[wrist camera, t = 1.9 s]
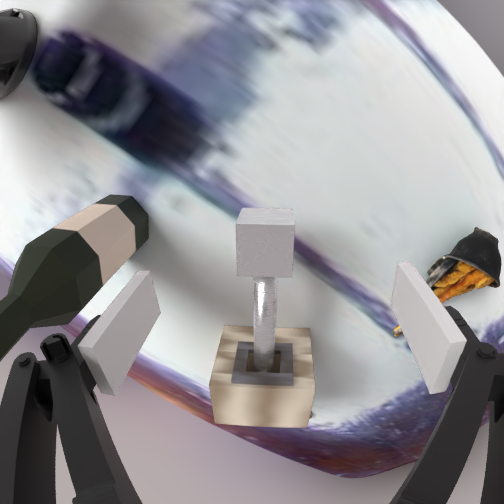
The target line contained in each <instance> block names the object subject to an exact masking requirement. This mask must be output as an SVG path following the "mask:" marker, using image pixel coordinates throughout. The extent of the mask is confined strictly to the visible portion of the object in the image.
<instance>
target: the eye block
mask: <svg viewBox="0 0 504 504" xmlns="http://www.w3.org/2000/svg"><path fill="white" fill-rule="evenodd" d="M209 388H210V394H211V401H212V407H213V413H214V420H215V423H220V424H231V425H244V426H262V427H307V426H308V422H309V417H310V413H311V408H312V403H313V398H314V394H315V380H314V369H313V359H312V349H311V340H310V331H309V328H276V329H275V350H274V369H273V373H265V372H254V327H245V326H226V325H224V328H223V332H222V335H221V339H220V343H219V347H218V351H217V355H216V359H215V363H214V367H213V371H212V375H211V379H210V383H209Z"/></svg>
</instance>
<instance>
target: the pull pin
mask: <svg viewBox="0 0 504 504" xmlns="http://www.w3.org/2000/svg"><path fill="white" fill-rule="evenodd" d="M294 231H295V223H294V216H293V209H280V208H242V210H241V212H240V215H239V217H238V220H237V222H236V250H237V276H254V372H265V373H273V369H274V350H275V329H276V306H277V280H278V277H291V278H292V271H293V252H294Z"/></svg>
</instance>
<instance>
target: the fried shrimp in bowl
mask: <svg viewBox="0 0 504 504" xmlns="http://www.w3.org/2000/svg"><path fill="white" fill-rule="evenodd" d="M500 272H501V256H500V253H499V250H498V239H497V238H495V237H494V236H492V235H491V234H490V233H489V232H486V231H483V230H481V229H479V228H477V227H475V229H474V232H473V233H472V234H470V235H469V236H467V237H465V238H463V239H462V240H460V241H459V242H458V243H457V245H456V246H455V248H454V249H453V250H452V252H451V253H450V254H448V255H444V256H443V257H441V258H439V259H438V260H437V261H435V262H434V263H433V264H432V265H431V267H430V268H429V269H428V271H427V273H428V274H429V275H430V276H429V277H428V280H427V282H426V283H427V284H428V286H429V287H430V288H431V290H432V291H433V292H434V294H435V295H436V296H437V298H438V299H440V300H439V301H440V302H441V303H443V302H444V301H445V300H449V299H450V298H452V297H454V296H457V295H460V294H463V293H466V292H468V291H471V290H472V289H474V288H476V289H480V288H483V287H485V286H491V287H494V288H497V287H499V286H500V280H499V276H500ZM402 333H403V332H402V329H401V327H400V325H398V326H397V327H396V328H395V329H394V331H393V334H394V336H395V337H397V336H399V335H400V334H402Z"/></svg>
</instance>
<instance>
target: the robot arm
mask: <svg viewBox="0 0 504 504" xmlns="http://www.w3.org/2000/svg"><path fill="white" fill-rule="evenodd" d="M36 40H37V25H36V21H35V19H34V17H33V15H32V14H31V13H30V12H28V11H26V10H21V9H16V8H13V9H7V10H2V11H0V98H2V97H4V96H6V95H8V94H9V93H10V92H12V91H13V90H14V89H15V88H16V86H17V85H18V84H19V83H20V81H21V80H22V78H23V77H24V75H25V73H26V71H27V69H28V67H29V65H30V62H31V60H32V57H33V54H34V50H35V46H36ZM391 309H392V311H393V313H394V315H395V317H396V319H397V321H398V323H399V325H400V327H401V329H402V332H403V334H404V336H405V338H406V340H407V342H408V344H409V347H410V349H411V351H412V353H413V355H414V358H415V360H416V362H417V364H418V367H419V369H420V371H421V374H422V376H423V378H424V381H425V383H426V385H427V388H428V390H429V393H430V394H434V393H439V392H444V391H446V389H447V387H448V385H449V383H450V382H451V384H452V386H453V390H452V392H451V394H450V396H449V398H448V400H447V402H446V404H445V405H446V406H445V408H444V410H443V412H442V414H441V416H440V419H439V421H438V423H437V425H436V427H435V429H434V431H433V433H432V435H431V436H430V438H429V440H428V442H427V444H426V446H425V448H424V449H423V451H422V453H421V455H420V457H419V458H418V460H417V462H416V464H415V465H414V467H413V468H412V470H411V472H410V474H409V475H408V477H407V478H406V480H405V481H404V483H403V484H402V486H401V487H400V489H399V490H398V492H397V494H396V495H395V496H394V498H393V499H392V501H391V502H390V503H389V504H446V503H447V501H448V499H449V497H450V495H451V493H452V491H453V489H454V487H455V485H456V483H457V481H458V479H459V477H460V474H461V472H462V470H463V468H464V465H465V463H466V461H467V458H468V456H469V454H470V451H471V448H472V446H473V443H474V440H475V438H476V435H477V432H478V430H479V427H480V424H481V421H482V418H483V415H484V411H485V408H486V405H487V401H490V421H489V423H490V424H489V441H488V453H487V463H486V471H485V479H484V486H483V491H482V497H481V503H480V504H504V354H498V352H497V350H496V349H495V348H494V347H493V346H492V345H490V344H488V343H484V342H480V341H479V340H478V338H477V337H476V335H475V334H474V333H473V331H472V330H471V328H470V327H469V325H467V323H466V321H465V320H463V317H462V316H461V314H460V313H459V312H458V311H457V310H455V309H454V308H453V307H451V306H446V307H444V306H443V305H442V303H441V302H440V301H439V299H438V298H437V296H436V295H435V294H434V292H433V291H432V290H431V288H430V287H429V286H428V284H427V283H426V282H425V280H424V279H423V278H422V277H421V275H420V274H419V273H418V271H417V270H416V269H415V267H414V266H413V265H412V264H411V262H397V268H396V275H395V282H394V289H393V295H392V301H391ZM160 313H161V312H160V308H159V304H158V300H157V296H156V292H155V288H154V284H153V280H152V275H151V271H137V273H136V274H135V275H134V276H133V277H132V279H131V280H130V281H129V282H128V283H127V284H126V286H125V287H124V288H123V289H122V290H121V292H120V293H119V294H118V295H117V297H116V298H115V299H114V300H113V301H112V303H111V304H110V305H109V306H108V308H107V309H106V310H105V311H104V313H103V314H102V315H98V316H96V317H95V318H93V319H92V320H90V322H89V323H88V324H87V325H86V327H85V328H84V329H83V330H82V332H81V333H80V334H79V335H78V337H77V338H76V339H75V340H74V342H73V343H72V344H71V346H70V344H69V342H68V340H67V338H66V336H65V335H64V334H61V333H60V334H59V333H57V334H52V335H50V336H48V337H47V338H46V339H44V340H43V341H42V343H41V345H40V348H41V350H42V352H43V354H44V356H45V357H46V360H43V361H38V360H37V358H36V356H35V355H34V354H33V353H31V352H30V353H29V352H27V353H23V354H21V355H19V356H18V357H17V358H16V359H15V360H14V362H13V365H12V368H11V371H10V374H9V377H8V380H7V384H6V388H5V390H4V394H3V398H2V401H1V405H0V504H56V493H55V492H56V490H55V455H56V433H57V425H58V429H59V434H60V438H61V443H62V447H63V451H64V455H65V459H66V462H67V466H68V469H69V473H70V476H71V479H72V483H73V486H74V489H75V492H76V497H75V498H73V500H72V502H73V504H142V502H141V500H140V498H139V496H138V495H137V493H136V491H135V489H134V487H133V485H132V483H131V481H130V479H129V477H128V475H127V473H126V470H125V468H124V466H123V464H122V462H121V459H120V457H119V455H118V453H117V450H116V448H115V445H114V443H113V441H112V438H111V436H110V433H109V431H108V428H107V426H106V423H105V420H104V418H103V415H102V412H101V410H100V406H99V404H98V401H97V398H96V395H95V393H94V391H93V389H94V387H95V385H96V384H97V386H98V388H99V390H100V392H101V393H104V394H109V395H114V396H115V395H116V393H117V392H118V390H119V388H120V386H121V384H122V382H123V380H124V378H125V376H126V375H127V373H128V371H129V369H130V367H131V365H132V363H133V362H134V360H135V358H136V356H137V354H138V352H139V351H140V349H141V347H142V345H143V343H144V342H145V340H146V338H147V336H148V334H149V333H150V331H151V329H152V327H153V325H154V324H155V322H156V320H157V318H158V317H159V315H160Z"/></svg>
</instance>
